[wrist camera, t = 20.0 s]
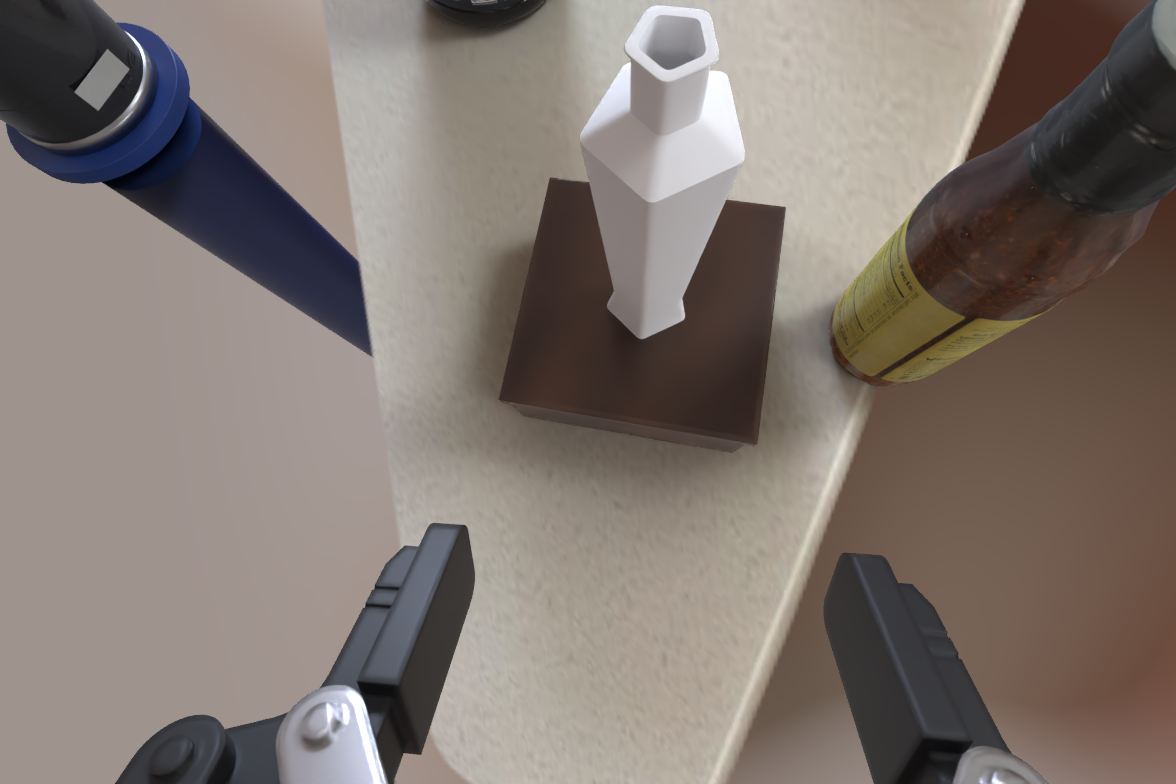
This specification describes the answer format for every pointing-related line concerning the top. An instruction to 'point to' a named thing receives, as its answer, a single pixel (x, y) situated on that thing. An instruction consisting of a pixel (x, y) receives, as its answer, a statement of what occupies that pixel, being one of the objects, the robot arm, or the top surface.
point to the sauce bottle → (1021, 219)
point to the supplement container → (485, 10)
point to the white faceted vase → (661, 164)
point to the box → (661, 361)
